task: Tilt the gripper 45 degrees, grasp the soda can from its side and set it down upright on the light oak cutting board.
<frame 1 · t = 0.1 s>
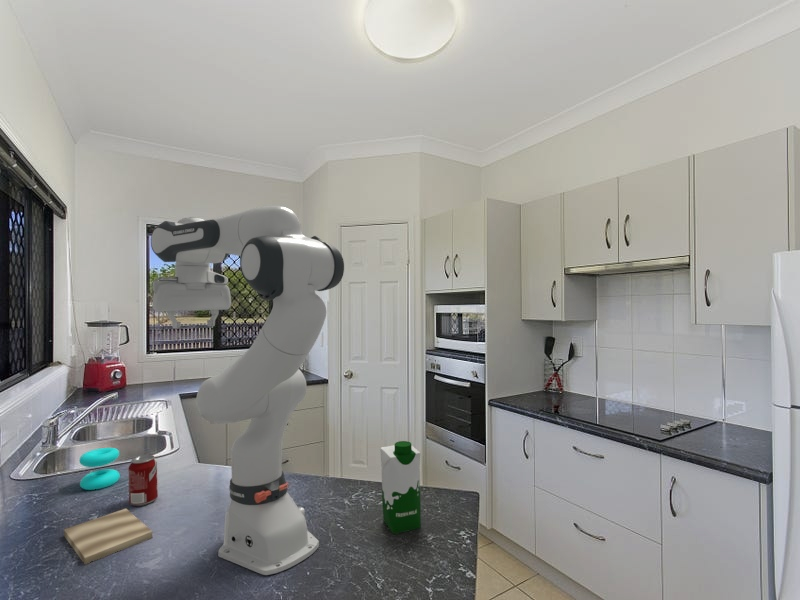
hand: (194, 327, 119), 48 cm above the worktop, tool pointing down, fingers open, 8 cm apart
soda can: (143, 502, 118), on the worktop
cutting board: (107, 536, 101), on the worktop
milk carton: (401, 524, 103), on the worktop
donuts: (100, 485, 131), on the worktop
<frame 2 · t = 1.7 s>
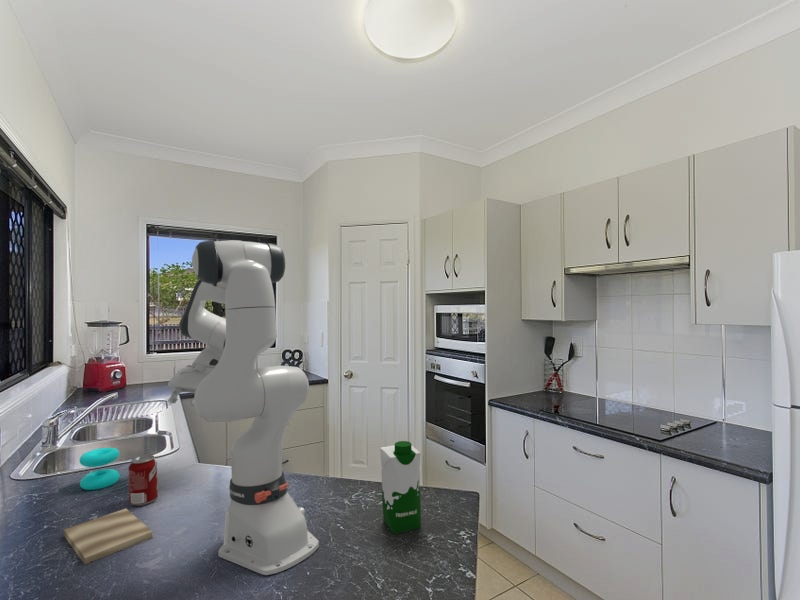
hand: (181, 403, 129), 24 cm above the worktop, tool tilted 45°, fingers open, 8 cm apart
nothing on the worktop moved.
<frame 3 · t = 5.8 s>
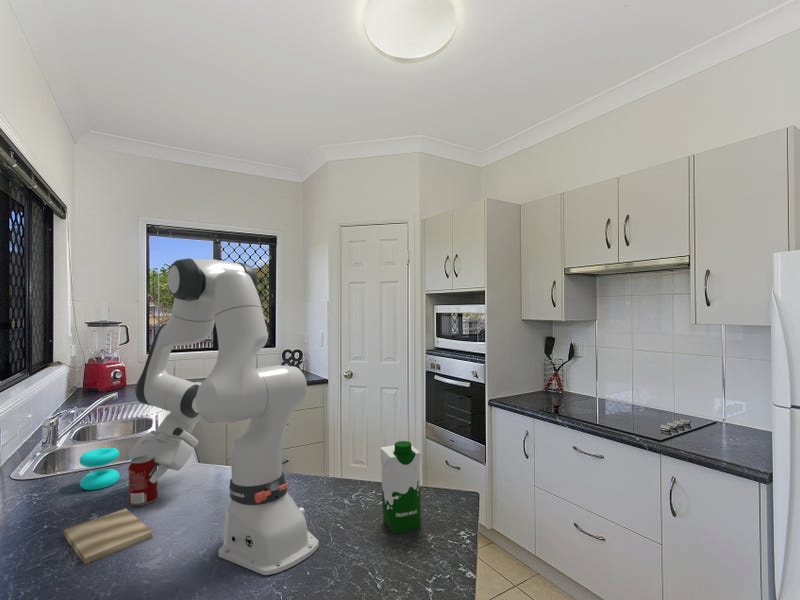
hand: (141, 479, 118), 6 cm above the worktop, tool tilted 45°, fingers closed on soda can, 7 cm apart
soda can: (143, 502, 118), on the worktop, touching gripper
everything else where it was.
when the fingers open (9 cm above the worktop, at t = 11.7 s): soda can stays where it is, resting on cutting board.
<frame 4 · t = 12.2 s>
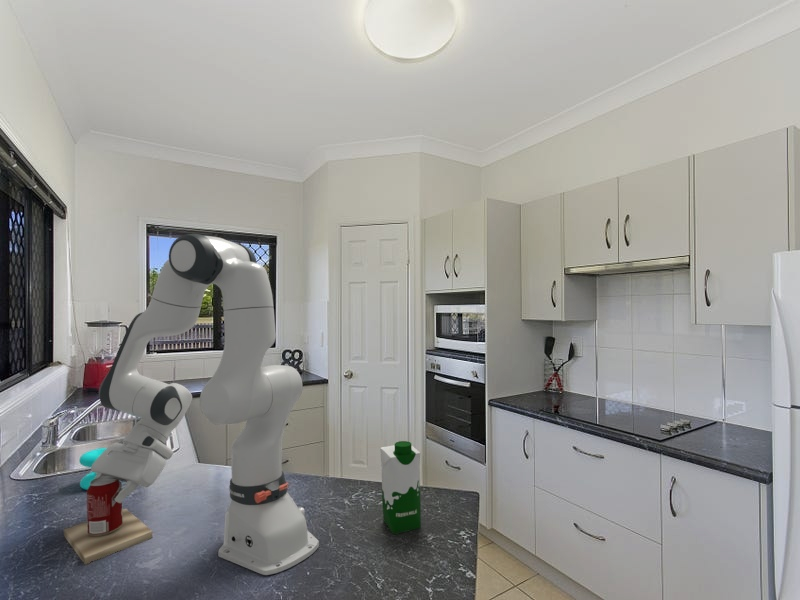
hand: (103, 498, 100), 9 cm above the worktop, tool tilted 45°, fingers open, 8 cm apart
soda can: (105, 531, 100), point 1 cm above the worktop, touching cutting board
everything else where it was.
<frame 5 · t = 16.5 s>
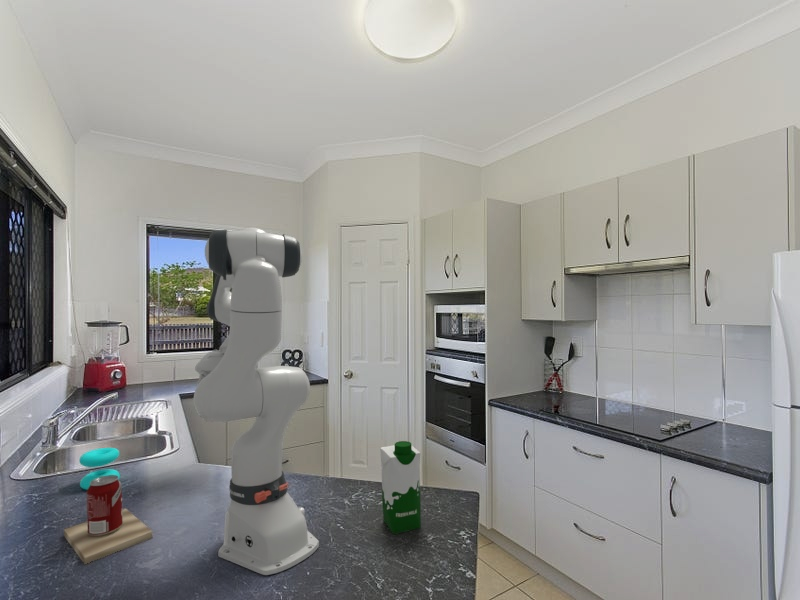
hand: (210, 386, 129), 29 cm above the worktop, tool tilted 45°, fingers open, 8 cm apart
nothing on the worktop moved.
at the end: soda can inside the target area on the cutting board (0.5 cm from its centre), point 1.3 cm above the cutting board's base; soda can tilted 0°; the gripper is holding nothing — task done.
